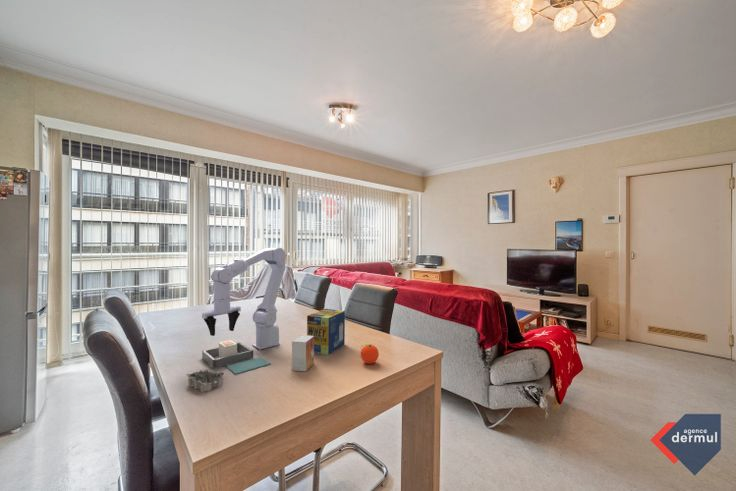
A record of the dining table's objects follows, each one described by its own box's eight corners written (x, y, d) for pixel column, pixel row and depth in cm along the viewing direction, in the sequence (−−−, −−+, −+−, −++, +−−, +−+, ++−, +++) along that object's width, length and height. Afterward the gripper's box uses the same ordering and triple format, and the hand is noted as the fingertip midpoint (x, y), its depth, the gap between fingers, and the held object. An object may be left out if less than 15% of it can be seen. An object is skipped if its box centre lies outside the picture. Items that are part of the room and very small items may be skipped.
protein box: (306, 352, 123) (306, 315, 123) (325, 341, 137) (325, 308, 137) (328, 356, 119) (328, 317, 119) (345, 344, 134) (345, 310, 134)
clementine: (354, 363, 112) (354, 344, 112) (365, 357, 118) (365, 339, 118) (371, 368, 107) (371, 348, 107) (382, 362, 113) (382, 343, 113)
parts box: (230, 354, 121) (230, 339, 121) (237, 359, 116) (237, 343, 116) (218, 357, 118) (218, 342, 118) (224, 362, 113) (225, 346, 113)
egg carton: (225, 385, 95) (225, 372, 95) (201, 395, 89) (201, 381, 89) (208, 376, 101) (208, 364, 101) (184, 385, 95) (185, 372, 95)
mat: (260, 357, 117) (260, 356, 117) (270, 364, 111) (270, 363, 111) (226, 367, 108) (226, 365, 108) (235, 374, 102) (235, 373, 102)
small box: (305, 372, 104) (306, 342, 104) (291, 370, 105) (291, 341, 105) (314, 363, 112) (314, 335, 112) (300, 362, 113) (300, 334, 113)
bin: (239, 349, 127) (239, 342, 127) (253, 357, 117) (253, 350, 117) (202, 358, 117) (202, 350, 117) (213, 368, 107) (213, 360, 107)
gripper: (233, 294, 124) (234, 326, 124) (197, 300, 112) (198, 335, 112) (243, 296, 120) (243, 329, 120) (207, 302, 108) (207, 339, 108)
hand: (222, 332), depth 116 cm, fingers open, 7 cm apart
